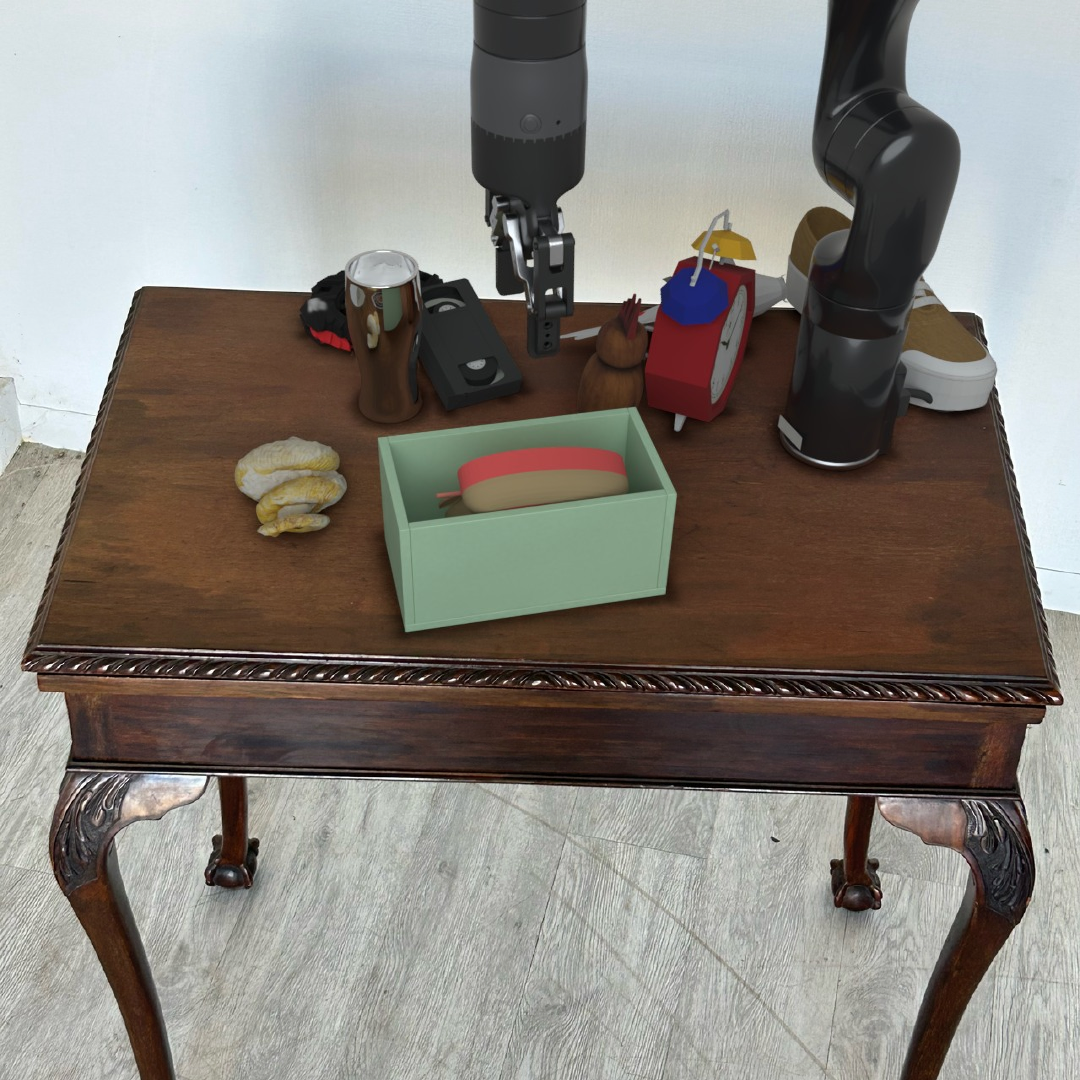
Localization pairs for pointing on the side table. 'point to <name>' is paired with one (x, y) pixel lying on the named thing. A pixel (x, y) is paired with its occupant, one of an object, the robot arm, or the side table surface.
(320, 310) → the toy
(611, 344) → the wooden figurine
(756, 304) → the fish
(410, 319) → the beer glass
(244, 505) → the side table surface
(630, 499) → the bin
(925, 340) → the sneaker
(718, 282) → the alarm clock
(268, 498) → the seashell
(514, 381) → the vhs tape
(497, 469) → the decorative object
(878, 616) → the side table surface
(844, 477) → the side table surface
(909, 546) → the side table surface
